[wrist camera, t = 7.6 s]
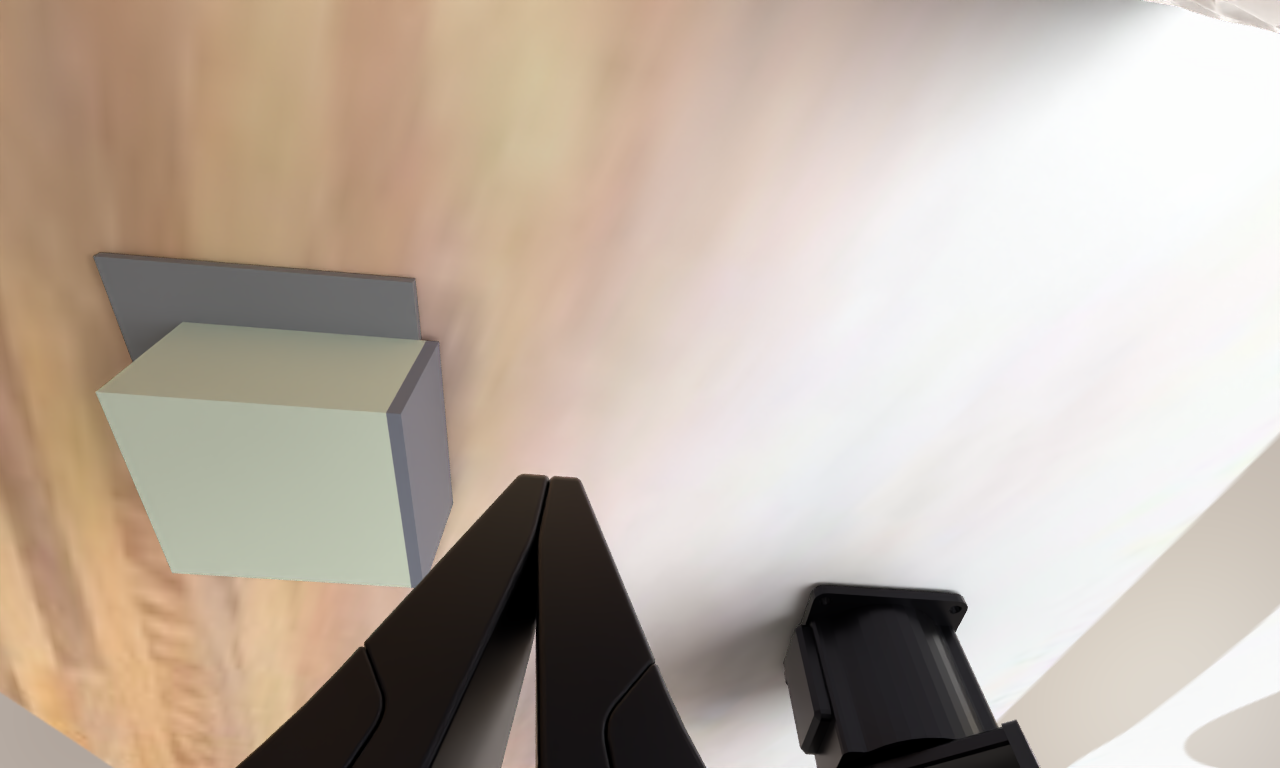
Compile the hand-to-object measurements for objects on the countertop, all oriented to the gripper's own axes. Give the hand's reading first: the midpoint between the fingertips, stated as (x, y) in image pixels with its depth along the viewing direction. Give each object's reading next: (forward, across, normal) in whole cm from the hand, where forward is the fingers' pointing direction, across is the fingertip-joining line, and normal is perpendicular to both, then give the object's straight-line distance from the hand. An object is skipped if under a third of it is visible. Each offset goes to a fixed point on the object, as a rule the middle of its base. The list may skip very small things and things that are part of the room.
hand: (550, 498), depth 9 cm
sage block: (+10, +5, +8) cm, 13 cm away
